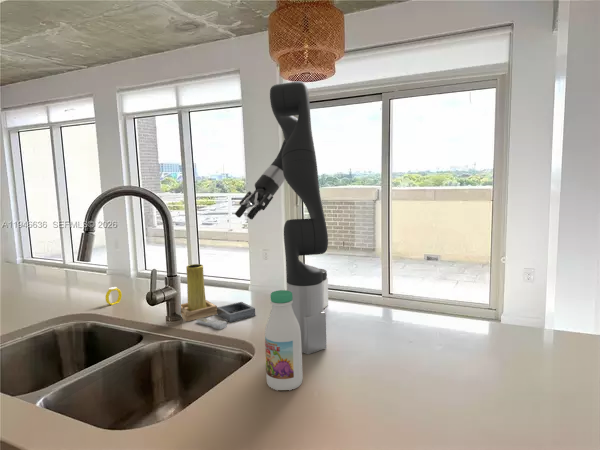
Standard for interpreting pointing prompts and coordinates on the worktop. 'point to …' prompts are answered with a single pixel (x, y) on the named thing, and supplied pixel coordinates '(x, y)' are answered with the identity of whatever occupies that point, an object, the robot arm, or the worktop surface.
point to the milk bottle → (283, 344)
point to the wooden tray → (198, 311)
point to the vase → (195, 287)
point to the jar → (325, 288)
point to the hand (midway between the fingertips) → (243, 216)
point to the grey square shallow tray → (225, 312)
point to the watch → (109, 294)
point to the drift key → (212, 323)
